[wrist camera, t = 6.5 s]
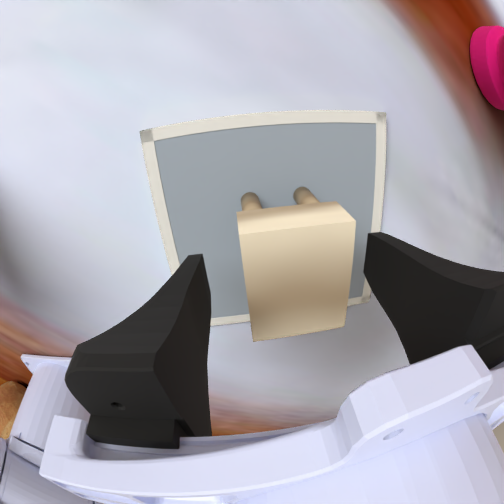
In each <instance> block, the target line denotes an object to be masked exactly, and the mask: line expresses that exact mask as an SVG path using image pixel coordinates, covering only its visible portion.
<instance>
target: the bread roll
mask: <svg viewBox="0 0 504 504" xmlns="http://www.w3.org/2000/svg"><path fill="white" fill-rule="evenodd" d="M26 390H27V388H25V387H24V386H22V385H21V384H19V383H17V382H13V381H11V382H6V383H4V384H2V385H1V386H0V437H2V438H3V439H5V440H6V439H7V438H9V436H10V432H11V429H12V426H13V424H14V421H15V418H16V415H17V412H18V410H19V407H20V405H21V402H22V400H23V397H24V395H25V392H26Z"/></svg>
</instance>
